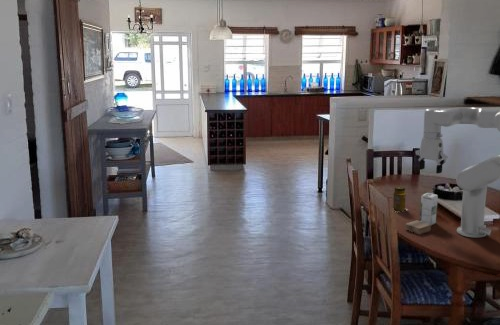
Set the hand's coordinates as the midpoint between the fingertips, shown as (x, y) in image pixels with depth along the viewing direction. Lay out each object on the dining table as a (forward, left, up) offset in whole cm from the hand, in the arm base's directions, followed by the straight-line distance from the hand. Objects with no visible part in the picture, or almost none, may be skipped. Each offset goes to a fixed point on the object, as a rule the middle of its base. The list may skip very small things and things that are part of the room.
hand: (430, 171), depth 240 cm
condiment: (+23, -5, -26) cm, 35 cm away
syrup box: (0, 0, -26) cm, 26 cm away
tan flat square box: (-3, +11, -26) cm, 28 cm away
